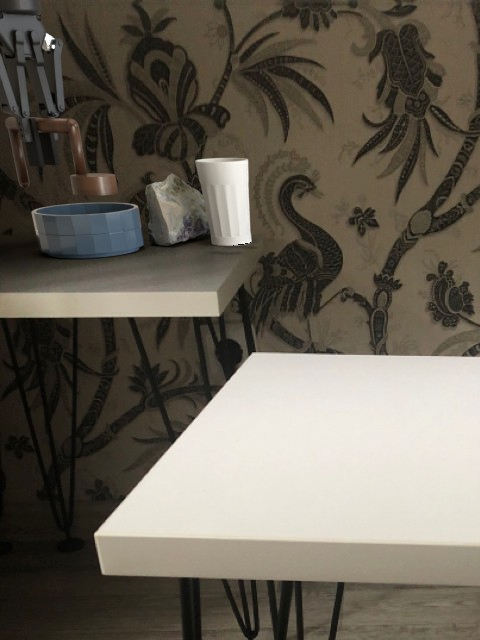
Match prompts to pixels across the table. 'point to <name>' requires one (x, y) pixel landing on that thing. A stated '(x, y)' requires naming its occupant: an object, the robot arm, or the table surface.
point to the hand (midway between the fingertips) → (44, 165)
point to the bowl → (88, 229)
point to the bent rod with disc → (81, 180)
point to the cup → (226, 199)
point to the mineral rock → (175, 211)
